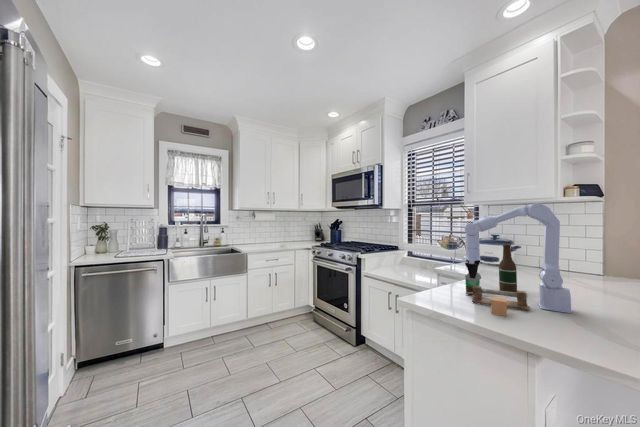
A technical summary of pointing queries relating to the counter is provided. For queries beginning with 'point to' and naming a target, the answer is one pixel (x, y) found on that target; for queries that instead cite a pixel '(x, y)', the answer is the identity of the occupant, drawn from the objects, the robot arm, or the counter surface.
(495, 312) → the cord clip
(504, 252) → the beer bottle
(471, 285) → the food container
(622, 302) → the counter surface
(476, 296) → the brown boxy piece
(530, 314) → the counter surface
